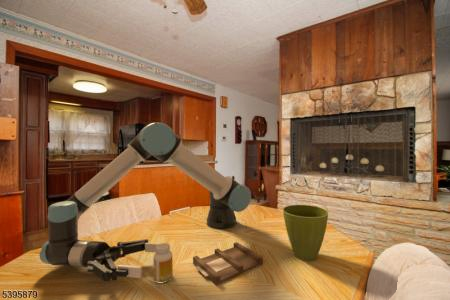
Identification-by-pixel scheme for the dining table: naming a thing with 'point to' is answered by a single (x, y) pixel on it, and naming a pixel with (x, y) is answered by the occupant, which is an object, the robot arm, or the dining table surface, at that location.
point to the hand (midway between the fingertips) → (153, 259)
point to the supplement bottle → (163, 263)
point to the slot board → (227, 263)
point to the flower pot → (305, 229)
